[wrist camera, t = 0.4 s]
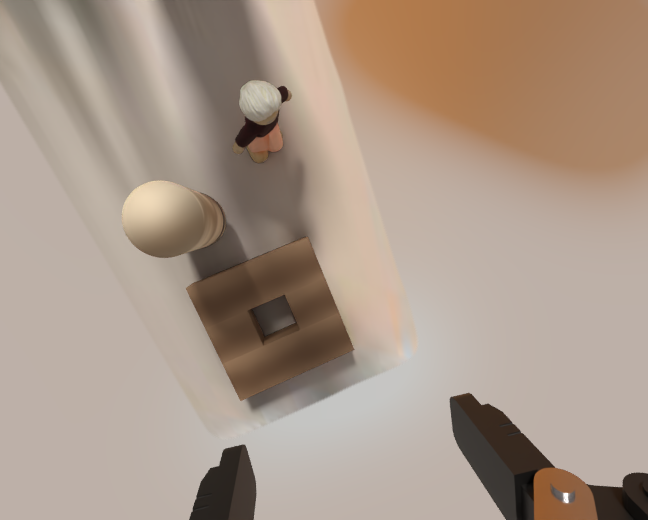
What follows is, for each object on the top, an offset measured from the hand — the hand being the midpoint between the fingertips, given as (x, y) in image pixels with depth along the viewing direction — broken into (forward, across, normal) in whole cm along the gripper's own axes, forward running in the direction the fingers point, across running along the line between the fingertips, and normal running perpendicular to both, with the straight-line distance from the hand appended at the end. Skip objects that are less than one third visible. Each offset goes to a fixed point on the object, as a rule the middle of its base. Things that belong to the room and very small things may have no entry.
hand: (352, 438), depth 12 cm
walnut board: (+26, +5, +4) cm, 27 cm away
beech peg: (+27, +11, -8) cm, 30 cm away
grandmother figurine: (+29, +2, -15) cm, 33 cm away
